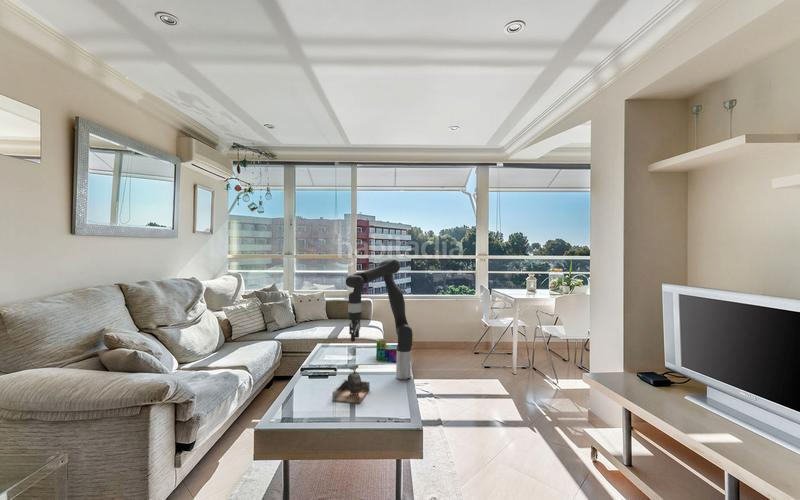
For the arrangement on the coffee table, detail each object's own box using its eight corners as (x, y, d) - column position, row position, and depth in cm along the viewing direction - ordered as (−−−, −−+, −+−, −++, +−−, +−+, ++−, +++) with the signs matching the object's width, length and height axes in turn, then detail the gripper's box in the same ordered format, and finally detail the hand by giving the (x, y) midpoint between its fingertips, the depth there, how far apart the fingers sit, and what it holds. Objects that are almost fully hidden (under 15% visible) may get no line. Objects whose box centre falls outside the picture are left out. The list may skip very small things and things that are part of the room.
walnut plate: (369, 390, 218) (369, 388, 218) (359, 403, 200) (359, 402, 200) (344, 388, 221) (344, 386, 221) (332, 401, 203) (332, 399, 203)
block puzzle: (375, 362, 271) (375, 342, 271) (377, 355, 288) (377, 336, 288) (410, 363, 270) (411, 343, 270) (410, 356, 287) (411, 337, 287)
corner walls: (369, 389, 218) (369, 381, 218) (359, 402, 200) (359, 394, 200) (344, 386, 221) (344, 379, 221) (332, 399, 203) (332, 391, 202)
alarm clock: (362, 397, 206) (362, 367, 206) (352, 399, 203) (353, 368, 203) (354, 390, 216) (355, 361, 215) (345, 392, 213) (346, 363, 213)
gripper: (352, 308, 223) (352, 336, 223) (344, 312, 209) (344, 342, 209) (364, 308, 222) (364, 336, 222) (358, 313, 208) (358, 343, 208)
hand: (355, 339), depth 216 cm, fingers open, 8 cm apart
